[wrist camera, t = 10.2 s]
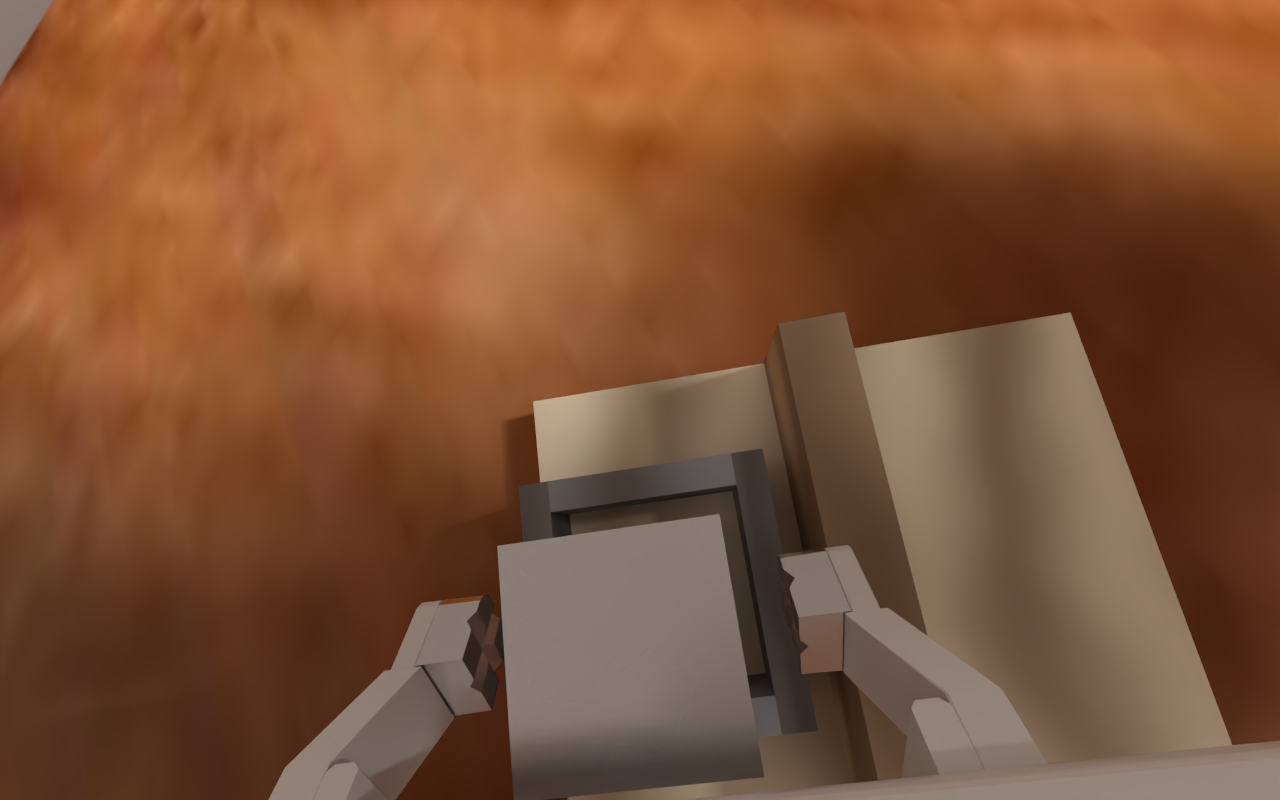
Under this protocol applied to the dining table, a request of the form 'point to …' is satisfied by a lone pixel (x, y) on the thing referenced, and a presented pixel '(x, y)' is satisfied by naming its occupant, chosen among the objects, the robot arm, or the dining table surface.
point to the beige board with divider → (903, 532)
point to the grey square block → (624, 662)
